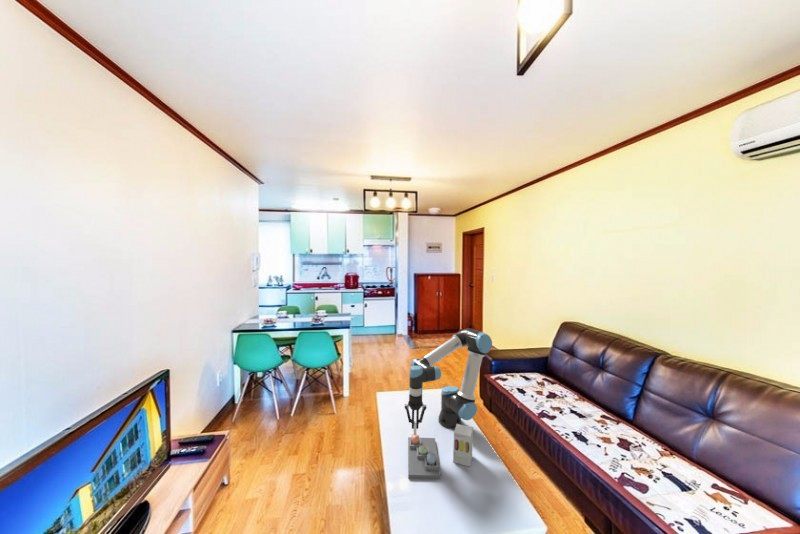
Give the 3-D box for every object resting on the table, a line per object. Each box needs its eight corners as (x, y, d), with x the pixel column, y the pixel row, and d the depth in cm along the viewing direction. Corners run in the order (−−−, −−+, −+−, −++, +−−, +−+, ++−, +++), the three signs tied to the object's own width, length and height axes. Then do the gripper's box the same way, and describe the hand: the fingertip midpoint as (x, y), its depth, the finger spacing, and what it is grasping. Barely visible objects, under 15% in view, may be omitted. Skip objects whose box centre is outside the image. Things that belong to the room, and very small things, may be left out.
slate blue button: (435, 459, 157) (435, 452, 156) (435, 465, 152) (435, 458, 152) (426, 459, 157) (426, 452, 157) (427, 465, 152) (427, 458, 152)
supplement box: (452, 462, 160) (453, 432, 159) (455, 451, 168) (455, 423, 167) (470, 467, 156) (471, 436, 155) (472, 455, 165) (473, 426, 164)
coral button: (418, 439, 173) (418, 434, 173) (419, 444, 168) (419, 438, 168) (411, 439, 173) (411, 433, 173) (411, 444, 169) (411, 438, 168)
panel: (434, 441, 178) (434, 435, 177) (440, 479, 148) (440, 472, 147) (408, 440, 178) (408, 434, 178) (408, 478, 148) (408, 471, 148)
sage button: (426, 451, 165) (426, 445, 165) (427, 456, 160) (427, 450, 160) (418, 451, 165) (418, 445, 165) (419, 456, 160) (419, 450, 160)
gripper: (426, 390, 173) (425, 430, 174) (404, 390, 173) (403, 429, 174) (427, 397, 165) (426, 438, 166) (404, 396, 166) (403, 437, 167)
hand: (414, 433), depth 170 cm, fingers closed
